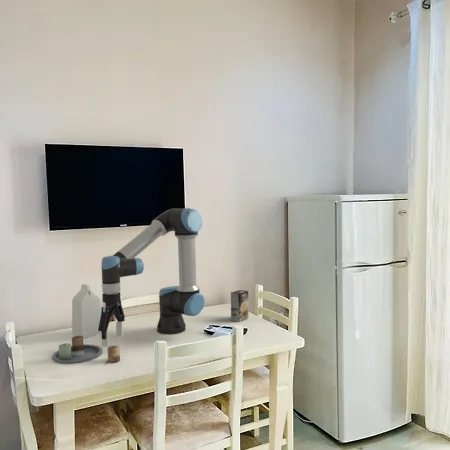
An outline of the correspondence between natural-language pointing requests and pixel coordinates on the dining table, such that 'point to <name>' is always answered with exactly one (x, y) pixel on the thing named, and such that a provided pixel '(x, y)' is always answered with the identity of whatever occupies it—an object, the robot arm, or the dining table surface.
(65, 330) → the dining table surface
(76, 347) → the bead
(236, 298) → the coffee box
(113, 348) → the bead
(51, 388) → the dining table surface
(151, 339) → the dining table surface
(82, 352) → the tray
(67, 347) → the bead
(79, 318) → the milk
